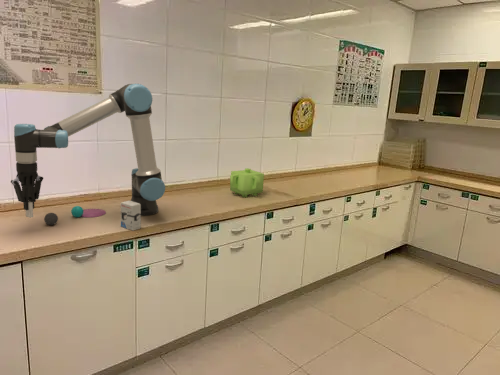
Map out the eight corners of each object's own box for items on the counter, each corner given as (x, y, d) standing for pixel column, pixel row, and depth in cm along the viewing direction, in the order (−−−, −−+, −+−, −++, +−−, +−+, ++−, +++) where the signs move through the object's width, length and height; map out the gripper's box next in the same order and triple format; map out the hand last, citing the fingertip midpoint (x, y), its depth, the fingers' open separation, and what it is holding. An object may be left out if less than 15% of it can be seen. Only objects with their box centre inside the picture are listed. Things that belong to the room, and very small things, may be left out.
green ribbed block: (250, 188, 264) (252, 164, 260) (271, 196, 247) (273, 170, 243) (220, 192, 249) (221, 166, 245) (240, 200, 232) (242, 173, 228)
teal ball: (86, 216, 185) (85, 205, 184) (76, 219, 180) (76, 208, 179) (78, 214, 187) (77, 203, 186) (68, 217, 182) (68, 206, 181)
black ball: (61, 224, 173) (60, 212, 171) (50, 227, 168) (49, 215, 167) (52, 221, 175) (52, 210, 174) (41, 225, 170) (41, 213, 169)
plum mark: (111, 212, 194) (111, 212, 194) (89, 219, 182) (89, 218, 182) (92, 207, 200) (92, 207, 200) (69, 213, 188) (69, 213, 187)
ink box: (120, 226, 175) (119, 202, 172) (128, 224, 179) (128, 200, 176) (132, 231, 170) (132, 205, 168) (141, 228, 174) (141, 203, 172)
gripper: (35, 159, 163) (38, 211, 169) (4, 162, 152) (8, 218, 157) (47, 161, 160) (49, 214, 166) (16, 165, 149) (20, 222, 154)
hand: (29, 216), depth 161 cm, fingers closed
